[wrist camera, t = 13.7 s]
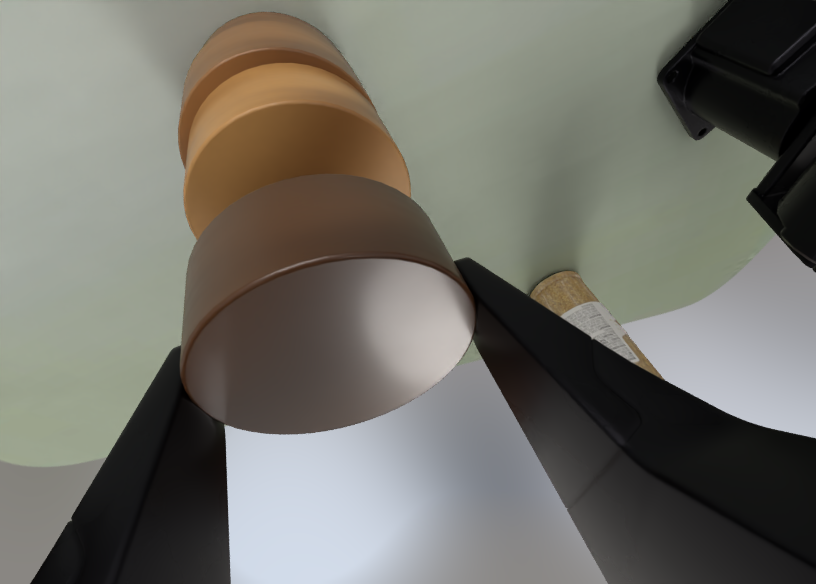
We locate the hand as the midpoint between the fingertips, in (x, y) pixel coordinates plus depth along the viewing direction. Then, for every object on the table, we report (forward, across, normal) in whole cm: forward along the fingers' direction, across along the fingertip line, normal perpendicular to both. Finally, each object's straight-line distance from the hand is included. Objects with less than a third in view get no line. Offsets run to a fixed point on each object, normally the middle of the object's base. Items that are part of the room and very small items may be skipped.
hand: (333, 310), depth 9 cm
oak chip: (+6, 0, 0) cm, 6 cm away
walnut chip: (+1, 0, 0) cm, 1 cm away
